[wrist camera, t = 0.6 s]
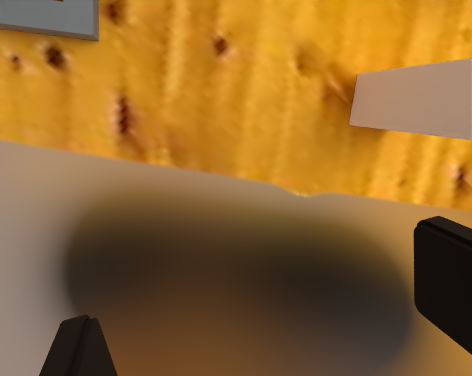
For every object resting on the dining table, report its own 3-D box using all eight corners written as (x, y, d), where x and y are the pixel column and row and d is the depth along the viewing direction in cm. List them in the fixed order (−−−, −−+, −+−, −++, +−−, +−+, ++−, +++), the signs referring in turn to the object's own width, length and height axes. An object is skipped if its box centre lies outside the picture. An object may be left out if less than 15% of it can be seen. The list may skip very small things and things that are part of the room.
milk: (356, 73, 39) (591, 37, 18) (400, 79, 40) (664, 53, 19) (347, 126, 40) (555, 150, 19) (390, 130, 42) (627, 157, 21)
